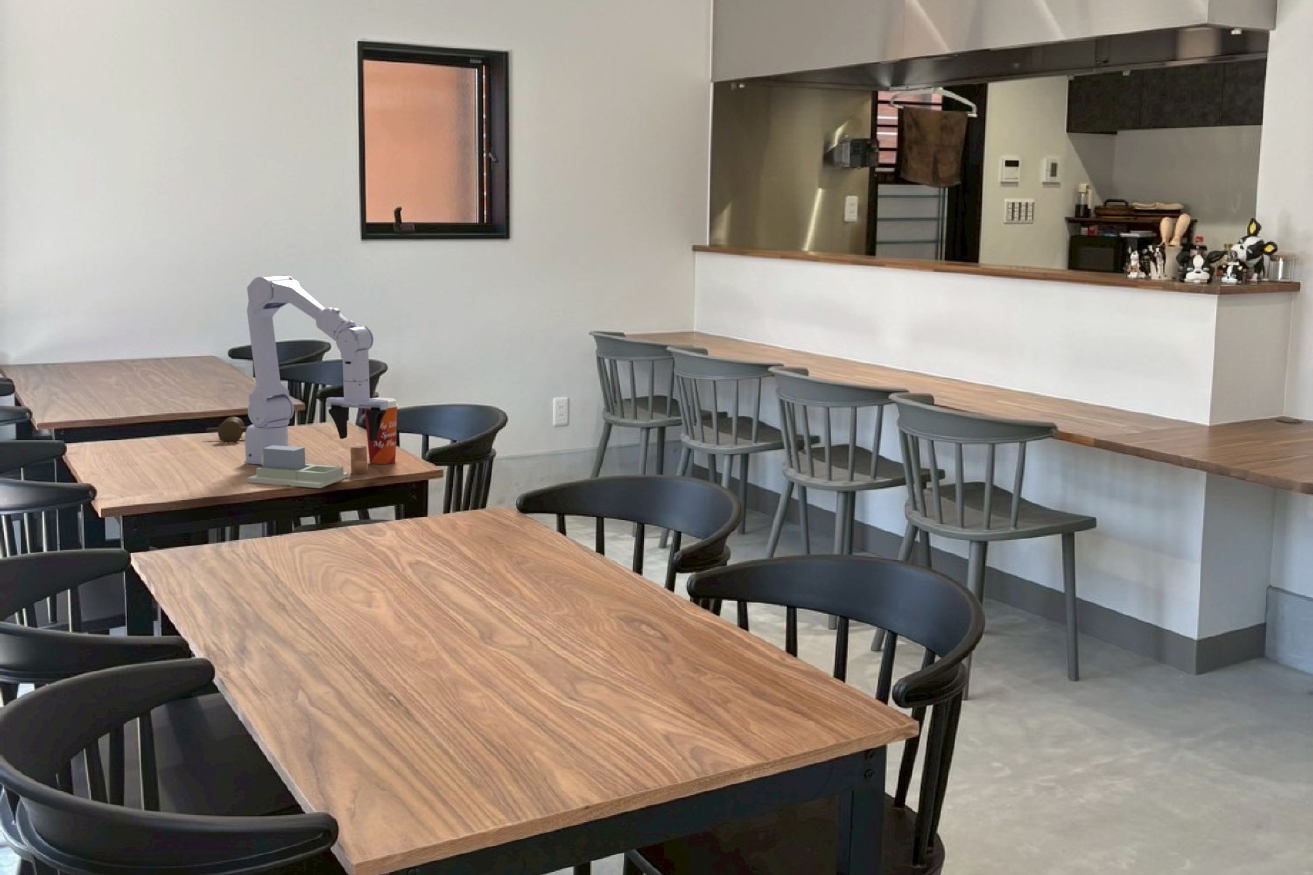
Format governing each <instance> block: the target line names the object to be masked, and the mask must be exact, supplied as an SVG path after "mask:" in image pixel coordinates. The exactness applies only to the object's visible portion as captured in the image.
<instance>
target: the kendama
mask: <svg viewBox="0 0 1313 875" xmlns="http://www.w3.org/2000/svg"><path fill="white" fill-rule="evenodd" d="M249 426H250V425H248V426H245V423H244V421H243V420H242V418H239V417H237V416H229V417H227V418H226V419H225V420H224V421H223V422H221V423H220V424H219V426H218V427H208V428H206V429H205V430H206V431H209V432H217V435H218V438H219V439H220V441H221V442H223V443H225V442H234V443H237V442H239V441H240V440H241V438H242V435H243V434H244V433H246V430H247V428H248V427H249Z"/></svg>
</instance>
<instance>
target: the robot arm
mask: <svg viewBox="0 0 1313 875" xmlns="http://www.w3.org/2000/svg"><path fill="white" fill-rule="evenodd" d="M246 290H247V297H248V302H247V308H246V315H247V323H248V329H249V336H250V346H251V352H252V360H253V369H254V376H255V384H256V385H255V387H254V388H253V389H252V391H251V392H250V393H249V395H248V399H249V400H248V402H249V403H248V407H247V416H248V419H249V420H250V422H251V423H252V424H250V425H248V426H249V427H248V428H247V430H246V432H244V433H245V434H244V448H245V450H244V451H245V460H244V462H243V463H244V464H251V465H262V464H261V457H262V455H263V448H266V447H269V446H272V445H277V446H289V431H288V430H289V427H288V425H289V424H290V419H292V418H293V416H294V412H295V407H294V406H295V405H294V403H293V400H292V399H291V397H290V390H289V389H288V388H287V387H286V386H284V385H283V384H282V382H281V376H280V367H279V358H278V352H277V344H276V335H275V327H274V320H273V317H274V316H275V314H276V313H277V312H278V311H279V310H280V309H282V308H283V307H284V306H286V305H288V304H291V305H293V306H294V307H295V308H297V309H298V310H299V311H301V312H302V313H304V314H306V315H307V316H309V317H311V318H312V319H313V320H315V325H316V327H317V329H319V330H320V331H322V332H323V333H324V334H326V335H327V336H328V337H330V339H332V340H333V341H335V344H336V346H337V349H338V350H339V351H340V359H341V360H342V377H343V380H342V383H343V397H341V396H339V397H335V396H334V397H333V396H332V397H331V396H330V397H327V398H326V407H327V408H329V407H330V409H328V413H329V416H330V417H331V419H332V420H333V422H334V424H335V427H336V429H337V430H336V431H337V432H338V436H339V439H340V440H344V439H347V438H348V416H349V410H350V409H349V408H354V409H355V408H357V409H365V408H369V409H371V410H368V411H366V415H367V419H368V424H369V438H370V441H374V440H377V436H378V431H379V427H380V424H381V421H382V419H383V417H384V415H385V413H386V409H388V400H379V399H372V398H373V397H372V398H371V397H370V394H371V393H370V390H371V389H370V366H369V365H370V364H369V363H370V361H369V359H370V358H369V350H370V349H371V348H372V347H373V345H374V336H373V333H372V331H371V330H370V329H369V328H368V327H367V326H366V325H363V324H362V325H357V324H356V322H355V321H354V320H351V319H349V318H347V317H346V316H345V315H343V314H342V313H340V312H341V309H339V308H338V307H331V306H330V307H325V306H323V305H322V303H320V302H318V301H317V299H315V298H314V297H313V296H312V295H311V294H310V293H308V292H307V291H306V290H305V289H303V287H301V284H300V282H299V280H296V279H294V278H293V277H292V276H291V275H287V274H283V275H275V276H257V277H255V278H253V280H251V282H250V283H249V285H248V286H247V287H246Z"/></svg>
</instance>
